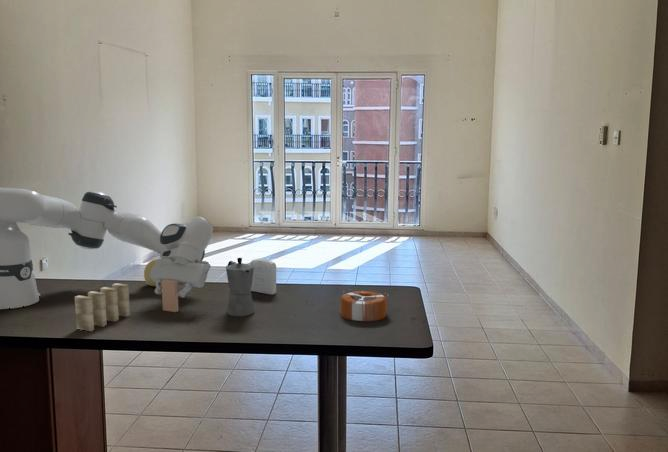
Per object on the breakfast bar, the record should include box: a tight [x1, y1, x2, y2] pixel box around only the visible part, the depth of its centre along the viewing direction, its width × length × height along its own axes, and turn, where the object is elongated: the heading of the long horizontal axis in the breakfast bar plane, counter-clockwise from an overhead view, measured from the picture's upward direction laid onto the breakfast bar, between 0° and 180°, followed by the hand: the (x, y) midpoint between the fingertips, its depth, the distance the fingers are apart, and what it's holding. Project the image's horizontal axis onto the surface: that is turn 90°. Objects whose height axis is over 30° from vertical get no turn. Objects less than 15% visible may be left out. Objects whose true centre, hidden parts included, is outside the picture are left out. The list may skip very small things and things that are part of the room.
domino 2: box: [87, 290, 108, 327], centre depth 173 cm, size 5×2×10 cm, turn 68°
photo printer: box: [249, 258, 277, 295], centre depth 209 cm, size 10×4×12 cm, turn 60°
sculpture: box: [143, 256, 162, 288], centre depth 217 cm, size 12×12×11 cm
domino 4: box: [111, 282, 131, 318], centre depth 182 cm, size 5×2×10 cm, turn 68°
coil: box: [340, 290, 389, 323], centre depth 184 cm, size 7×15×15 cm
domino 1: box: [74, 294, 95, 332], centre depth 168 cm, size 5×2×10 cm, turn 68°
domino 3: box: [99, 286, 120, 323], centre depth 177 cm, size 5×2×10 cm, turn 68°
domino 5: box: [161, 279, 179, 313], centre depth 187 cm, size 5×2×10 cm, turn 68°
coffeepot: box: [225, 257, 255, 317], centre depth 186 cm, size 15×9×18 cm, turn 33°
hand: (168, 294), depth 186 cm, fingers open, 8 cm apart
